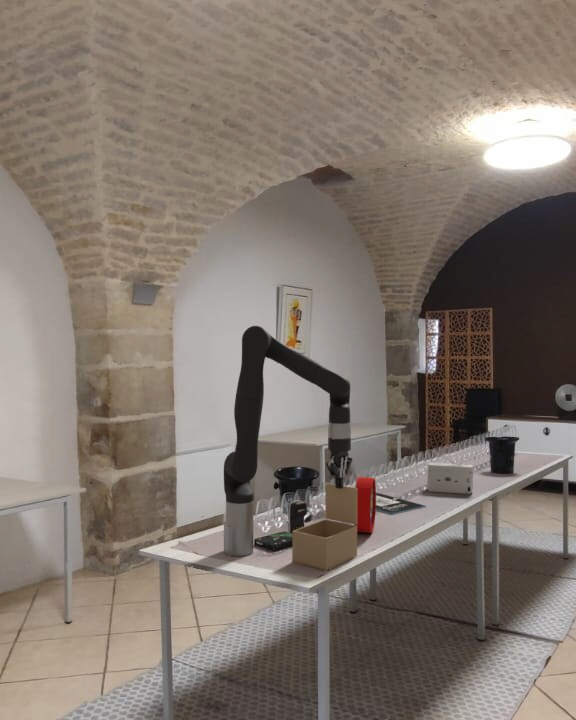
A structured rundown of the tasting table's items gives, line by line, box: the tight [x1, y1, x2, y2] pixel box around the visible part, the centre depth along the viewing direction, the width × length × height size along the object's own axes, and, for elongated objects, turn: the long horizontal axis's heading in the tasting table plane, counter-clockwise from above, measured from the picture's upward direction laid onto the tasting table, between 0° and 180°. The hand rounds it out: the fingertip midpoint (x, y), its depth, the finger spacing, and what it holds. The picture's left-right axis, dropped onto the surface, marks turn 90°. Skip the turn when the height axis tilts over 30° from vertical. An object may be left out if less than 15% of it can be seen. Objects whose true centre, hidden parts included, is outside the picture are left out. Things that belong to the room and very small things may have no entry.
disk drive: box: [253, 530, 293, 552], centre depth 231 cm, size 10×3×15 cm
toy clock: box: [353, 476, 377, 534], centre depth 247 cm, size 20×6×20 cm, turn 167°
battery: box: [287, 499, 308, 534], centre depth 245 cm, size 7×4×11 cm, turn 134°
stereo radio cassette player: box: [427, 449, 474, 495], centre depth 315 cm, size 21×8×20 cm, turn 75°
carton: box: [291, 518, 358, 572], centre depth 215 cm, size 18×13×10 cm
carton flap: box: [325, 482, 357, 525], centre depth 223 cm, size 12×12×1 cm
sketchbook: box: [376, 491, 427, 516], centre depth 290 cm, size 22×30×2 cm
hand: (339, 488), depth 221 cm, fingers closed
